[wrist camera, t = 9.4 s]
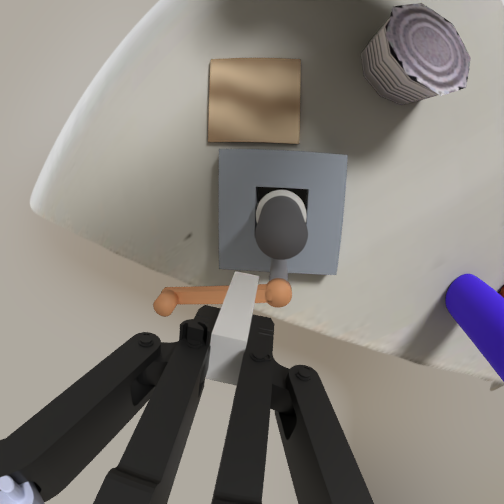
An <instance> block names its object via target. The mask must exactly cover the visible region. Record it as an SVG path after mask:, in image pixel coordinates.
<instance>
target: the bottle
mask: <svg viewBox="0 0 504 504" xmlns="http://www.w3.org/2000/svg"><path fill="white" fill-rule="evenodd" d="M446 307H447V309H448V311H449V313H450V314H451V315H452V317H453V318H454V319H455V321H456V322H457V323H458V324H459V325H460V327H461V328H462V329H463V330H464V332H465V333H466V334H467V335H468V337H469V338H470V339H471V340H472V342H473V343H474V344H475V345H476V347H477V348H478V349H479V350H480V352H481V353H482V354H483V356H484V357H485V358H486V359H487V361H488V362H489V363H490V365H491V366H492V367H493V368H494V370H495V371H496V372H497V374H498V375H499V376H500V377H501V379H502V380H503V381H504V298H503V297H502V296H501V295H500V294H499V293H497V292H496V291H495V290H494V289H492V288H491V287H490V286H489V285H487V284H486V283H485V282H483V281H482V280H480V279H479V278H478V277H476V276H474V275H472V274H464V275H461V276H459V277H458V278H456V279H455V280H454V281H453V282H452V284H451V285H450V287H449V289H448V291H447V294H446Z"/></svg>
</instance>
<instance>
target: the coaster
mask: <svg viewBox="0 0 504 504" xmlns="http://www.w3.org/2000/svg"><path fill="white" fill-rule="evenodd" d="M300 73H301V59H283V58H229V59H211V66H210V89H209V122H208V142H267V143H290V144H299V131H300Z"/></svg>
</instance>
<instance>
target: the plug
mask: <svg viewBox="0 0 504 504" xmlns="http://www.w3.org/2000/svg"><path fill="white" fill-rule="evenodd" d="M306 218H307V213H306V208H305V206H304V204H303V202H302V200H301V199H300V198H299V197H298V196H297V195H296V194H295V193H293V192H291V191H288V190H274V191H271V192H269V193H268V194H266V195H265V196H264V197H263V198H262V199H261V200H260V202H259V204H258V207H257V210H256V221H257V226H256V230H255V239H256V242H257V245H258V247H259V248H260V250H261V251H262V252H263V253H264V254H266V255H267V256H269V257H271V258H273V259H278V260H285V259H290V258H292V257H295V256H296V255H298V254H299V253H300V252H301V251H302V250H303V249H304V247H305V245H306V243H307V239H308V229H307V226H306Z"/></svg>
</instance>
